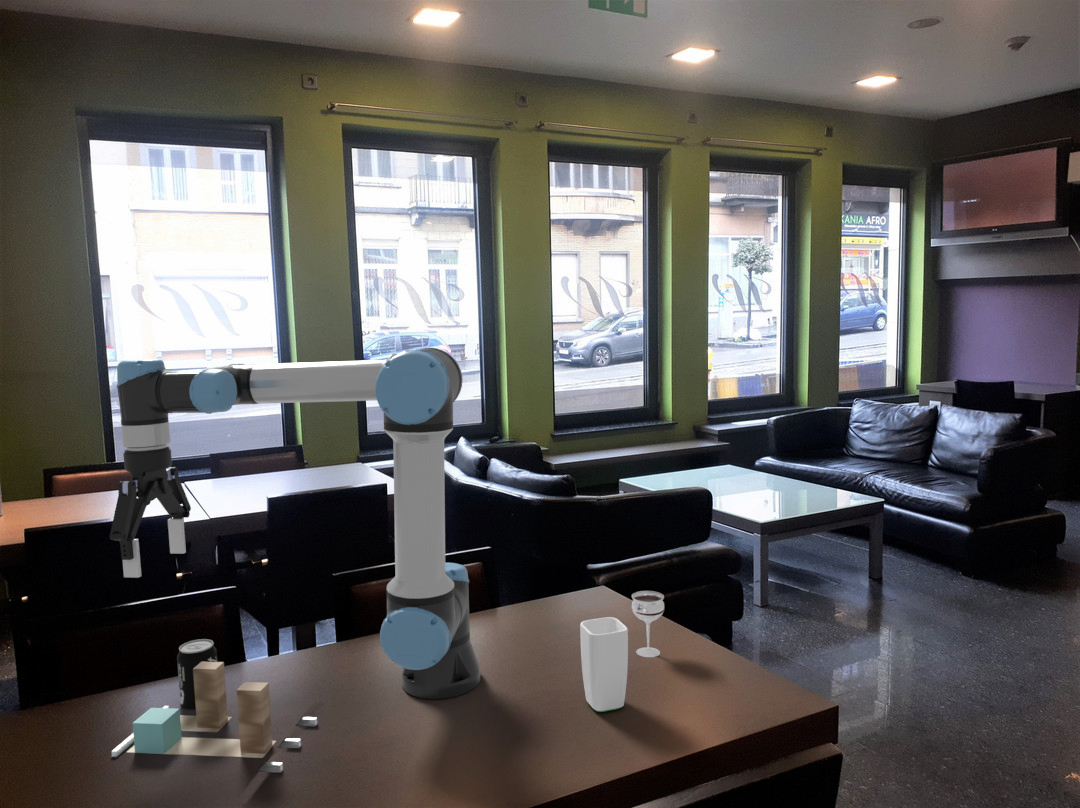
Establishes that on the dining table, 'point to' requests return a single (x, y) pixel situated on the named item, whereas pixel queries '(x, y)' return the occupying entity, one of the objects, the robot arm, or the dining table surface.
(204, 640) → the beverage can
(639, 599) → the wineglass
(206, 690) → the strip short
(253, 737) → the strip long
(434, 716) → the dining table surface
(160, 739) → the cube
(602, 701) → the cup
